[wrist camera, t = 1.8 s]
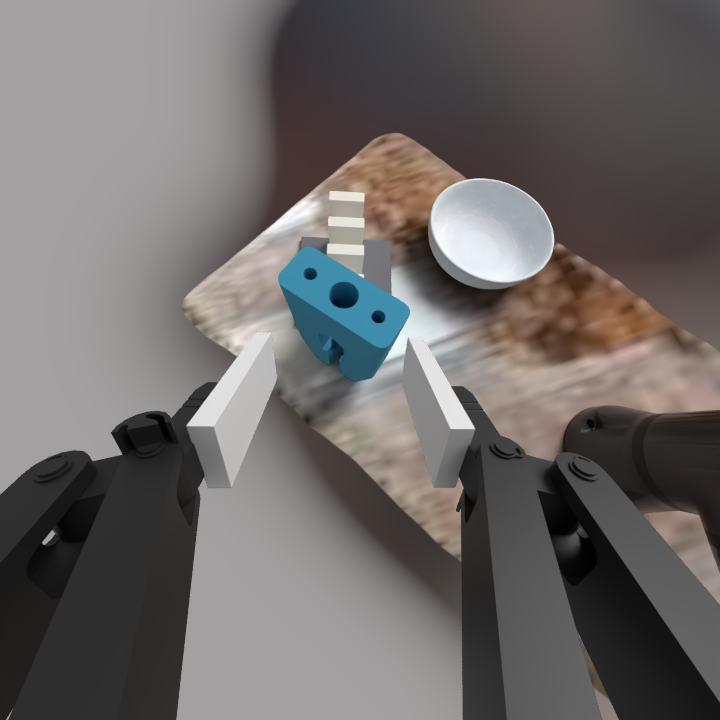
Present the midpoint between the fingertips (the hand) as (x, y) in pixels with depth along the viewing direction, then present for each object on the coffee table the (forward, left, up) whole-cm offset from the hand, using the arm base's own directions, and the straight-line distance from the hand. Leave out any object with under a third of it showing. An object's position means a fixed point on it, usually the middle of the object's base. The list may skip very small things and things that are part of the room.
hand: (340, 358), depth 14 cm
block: (+8, 0, -29) cm, 30 cm away
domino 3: (+20, 0, -28) cm, 34 cm away
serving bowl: (+29, -24, -29) cm, 48 cm away
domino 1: (+29, 0, -28) cm, 40 cm away
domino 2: (+25, 0, -28) cm, 37 cm away
